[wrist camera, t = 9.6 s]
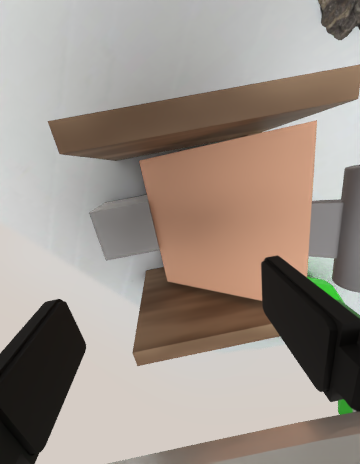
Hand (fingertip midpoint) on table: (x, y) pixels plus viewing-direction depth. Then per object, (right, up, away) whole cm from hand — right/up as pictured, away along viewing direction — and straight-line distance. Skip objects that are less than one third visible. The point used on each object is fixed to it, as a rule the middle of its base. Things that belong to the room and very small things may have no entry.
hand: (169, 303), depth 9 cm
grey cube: (-3, +5, +14) cm, 15 cm away
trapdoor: (+6, +4, +8) cm, 11 cm away
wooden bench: (+2, +6, +16) cm, 18 cm away
